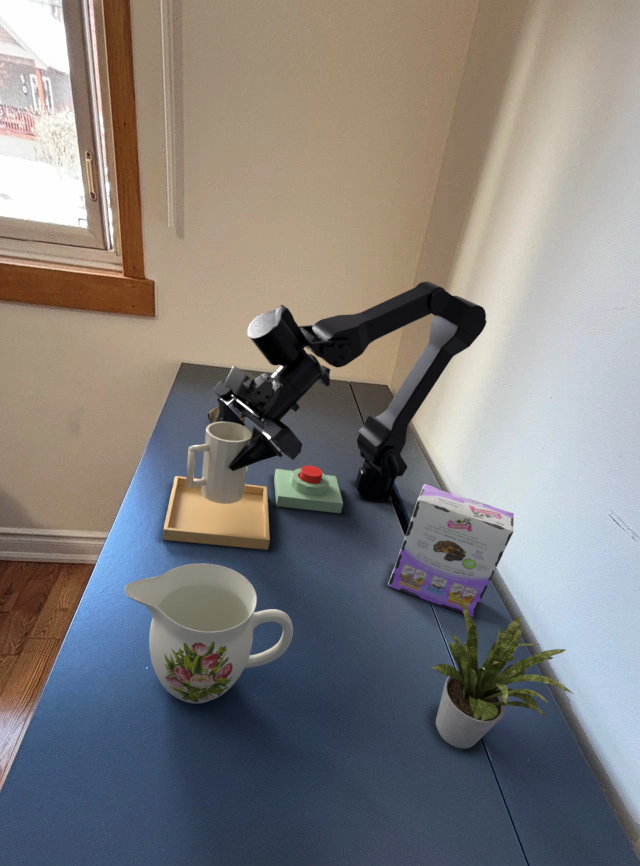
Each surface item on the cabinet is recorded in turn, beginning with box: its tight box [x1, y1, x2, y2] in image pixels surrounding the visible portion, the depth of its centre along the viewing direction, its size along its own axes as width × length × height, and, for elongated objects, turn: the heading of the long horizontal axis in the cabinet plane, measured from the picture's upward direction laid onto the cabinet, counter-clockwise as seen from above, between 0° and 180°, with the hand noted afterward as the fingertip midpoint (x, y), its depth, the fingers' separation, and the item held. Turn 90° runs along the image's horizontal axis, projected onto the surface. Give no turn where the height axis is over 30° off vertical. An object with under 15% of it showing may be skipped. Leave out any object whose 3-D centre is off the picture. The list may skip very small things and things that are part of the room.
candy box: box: [387, 483, 515, 618], centre depth 80 cm, size 14×6×16 cm, turn 71°
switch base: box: [273, 467, 344, 514], centre depth 100 cm, size 12×10×4 cm
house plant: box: [430, 601, 574, 749], centre depth 58 cm, size 14×14×16 cm
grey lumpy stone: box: [207, 405, 246, 424], centre depth 116 cm, size 8×7×10 cm
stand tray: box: [162, 475, 271, 551], centre depth 90 cm, size 16×16×2 cm
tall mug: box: [185, 421, 252, 504], centre depth 84 cm, size 10×7×11 cm
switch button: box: [300, 465, 323, 484], centre depth 99 cm, size 4×4×2 cm
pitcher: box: [124, 562, 294, 704], centre depth 59 cm, size 11×18×14 cm, turn 101°
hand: (218, 457), depth 83 cm, fingers closed on tall mug, 7 cm apart
